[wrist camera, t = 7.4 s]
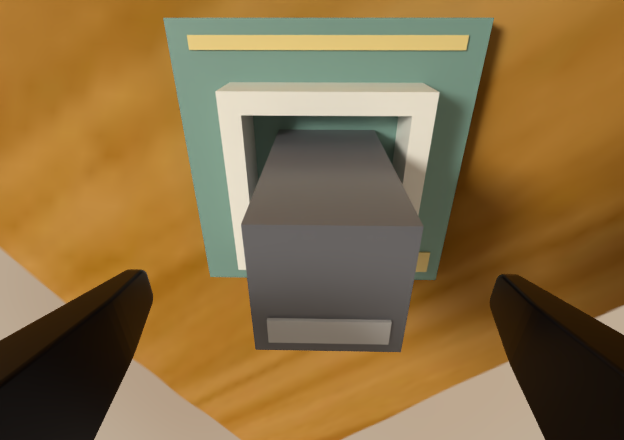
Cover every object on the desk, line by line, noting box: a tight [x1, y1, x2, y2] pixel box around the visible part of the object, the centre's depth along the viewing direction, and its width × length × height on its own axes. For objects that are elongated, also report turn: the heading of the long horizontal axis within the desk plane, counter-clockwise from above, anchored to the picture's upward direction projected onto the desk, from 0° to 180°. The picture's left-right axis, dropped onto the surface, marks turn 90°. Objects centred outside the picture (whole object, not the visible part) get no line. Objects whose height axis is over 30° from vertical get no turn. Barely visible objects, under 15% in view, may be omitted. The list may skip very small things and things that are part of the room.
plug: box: [241, 129, 424, 352], centre depth 12 cm, size 4×4×8 cm
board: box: [163, 18, 494, 280], centre depth 16 cm, size 12×12×1 cm
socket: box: [215, 82, 440, 270], centre depth 15 cm, size 8×8×2 cm
